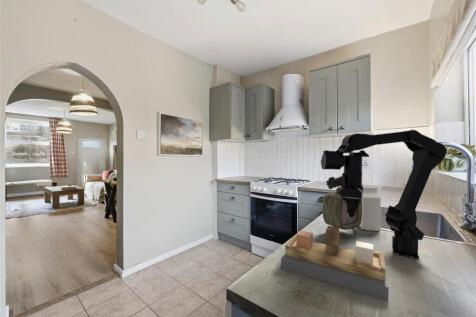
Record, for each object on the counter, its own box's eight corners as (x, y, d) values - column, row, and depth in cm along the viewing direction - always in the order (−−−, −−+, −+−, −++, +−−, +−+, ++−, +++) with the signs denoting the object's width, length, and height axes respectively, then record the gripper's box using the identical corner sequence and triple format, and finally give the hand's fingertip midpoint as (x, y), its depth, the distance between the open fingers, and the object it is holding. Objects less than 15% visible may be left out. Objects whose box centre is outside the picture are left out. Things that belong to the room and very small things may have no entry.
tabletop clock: (338, 240, 84) (339, 177, 84) (320, 233, 92) (321, 175, 92) (361, 234, 91) (362, 176, 90) (343, 228, 99) (343, 174, 98)
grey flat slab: (384, 272, 61) (384, 262, 61) (388, 300, 49) (388, 287, 49) (294, 250, 75) (295, 242, 75) (280, 268, 63) (281, 258, 63)
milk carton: (380, 231, 95) (380, 189, 95) (362, 230, 96) (363, 188, 96) (373, 226, 102) (374, 186, 101) (357, 225, 103) (357, 186, 103)
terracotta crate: (312, 245, 67) (312, 232, 67) (309, 250, 63) (309, 236, 63) (299, 242, 69) (300, 230, 69) (296, 247, 65) (296, 234, 65)
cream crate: (372, 258, 58) (373, 244, 58) (373, 265, 55) (373, 249, 55) (356, 255, 61) (356, 241, 60) (355, 260, 57) (355, 246, 57)
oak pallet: (383, 264, 60) (383, 231, 60) (385, 282, 51) (386, 244, 51) (294, 244, 73) (295, 217, 73) (285, 256, 64) (285, 225, 64)
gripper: (331, 167, 87) (331, 205, 87) (323, 170, 71) (323, 216, 71) (363, 168, 81) (362, 209, 81) (362, 171, 65) (361, 222, 65)
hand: (352, 213), depth 75 cm, fingers open, 9 cm apart
